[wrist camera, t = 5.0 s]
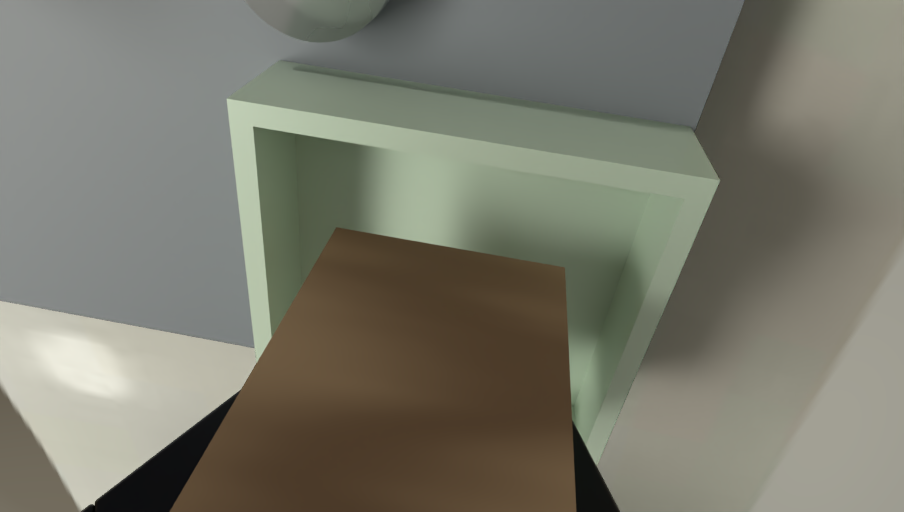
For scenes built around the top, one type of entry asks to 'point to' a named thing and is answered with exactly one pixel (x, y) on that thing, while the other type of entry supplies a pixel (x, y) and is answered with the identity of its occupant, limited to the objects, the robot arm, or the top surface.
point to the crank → (317, 17)
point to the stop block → (403, 390)
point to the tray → (473, 201)
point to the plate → (208, 131)
